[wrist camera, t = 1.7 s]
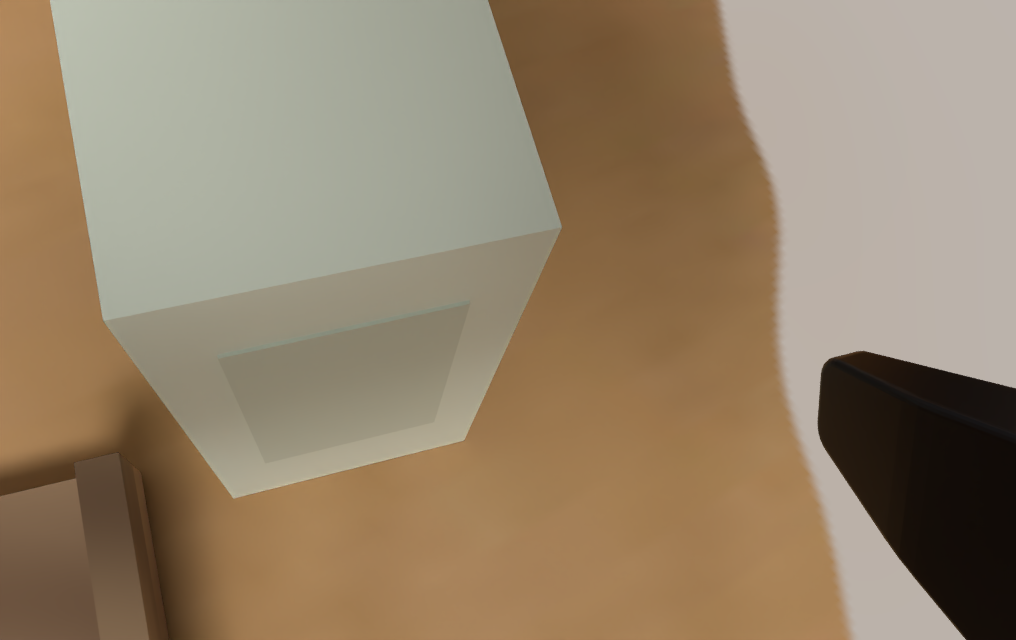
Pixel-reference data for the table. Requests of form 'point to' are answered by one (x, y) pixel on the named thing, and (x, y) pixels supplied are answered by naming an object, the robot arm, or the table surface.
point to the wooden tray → (80, 558)
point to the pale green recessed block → (306, 218)
